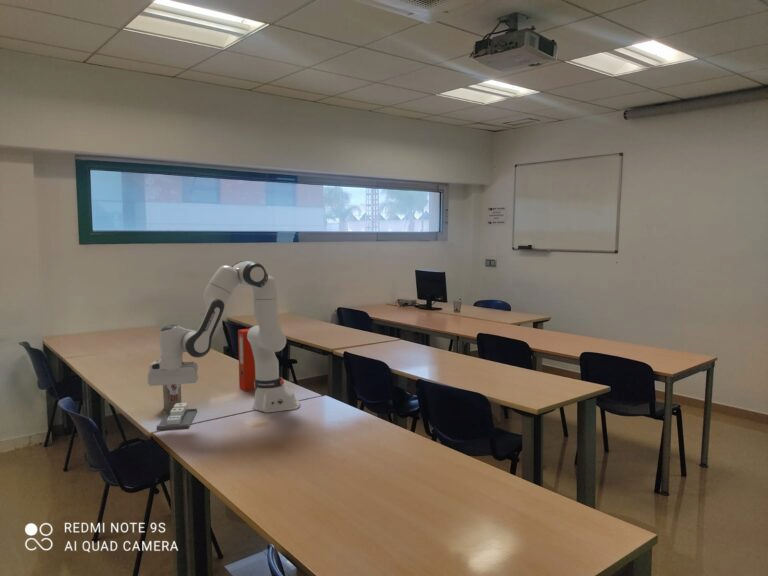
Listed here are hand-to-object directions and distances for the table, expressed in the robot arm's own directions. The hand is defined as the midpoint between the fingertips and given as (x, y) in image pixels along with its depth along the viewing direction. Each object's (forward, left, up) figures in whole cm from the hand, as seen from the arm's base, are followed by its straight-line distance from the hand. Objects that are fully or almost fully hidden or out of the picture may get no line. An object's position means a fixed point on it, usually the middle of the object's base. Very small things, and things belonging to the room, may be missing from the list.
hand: (174, 394), depth 231 cm
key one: (0, -14, -12) cm, 18 cm away
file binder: (-32, -55, -15) cm, 65 cm away
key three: (0, 0, -13) cm, 13 cm away
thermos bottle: (+6, -26, -15) cm, 30 cm away
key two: (0, -7, -12) cm, 13 cm away
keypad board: (0, -7, -14) cm, 16 cm away
